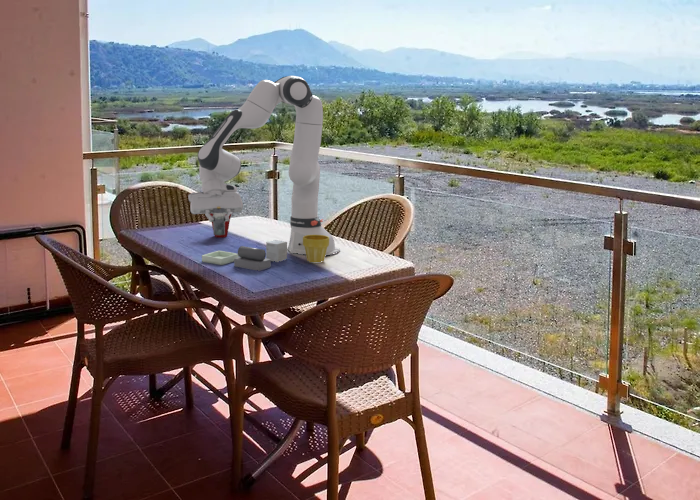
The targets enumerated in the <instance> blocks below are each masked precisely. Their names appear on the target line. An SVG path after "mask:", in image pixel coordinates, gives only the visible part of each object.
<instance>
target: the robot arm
mask: <svg viewBox="0 0 700 500" xmlns="http://www.w3.org/2000/svg"><path fill="white" fill-rule="evenodd" d="M311 90H312V89H311V88H310V85H309V83H308V82H307V81H306V79H305V78H303V77H301V76H297V75H288V76H287V75H286V76H283V77H280V78H279V79H277V80H276V81H274V82H273V81H272V80H268V79H262V80H260V81H259V82H257V84H256V85H255V86H254V88H253V89H252V91H251V92H250V93H249V95H248V97H246V100H245V102H243V104H242V105H241V106H240V107H239V108H238V109H233V110H231V111H230V113H229V114H227V116H226V117H225V118H224V120H223V121H222V122H221V123H220V125H219V126H218V128H216V130H215V132H214V133H213V134H212V135H211V137H209V139H207V140H208V141H205V143H204V144H203V145H202V146H201V147H200V148H199V150H198V152H197V161H198V163H199V165H198V166H199V168H198V170H199V172H198V173H199V177H200V181H201V189H202V190H201V191H202V192H201V191H198V192H196V191H195V192H191V193H189V194H188V195H187V197H188V198H187V199H188V202H189V203H190V213H191V214H192V215H199V214H200V215H202V214H203V215H204V214H205V217H206V218H207V219H208V221H209V223H212V222H214V218H213V216H211V215H210V213H213V208H217V207H218V206H220V207H221V208H224V209H225V213H226V214H227V215H225V221H229V215H230V213H232V214H233V213H241V212H242V211H243V209H244V204H243V200H242V197H241V195H240V193H239V192H238V188H237V186H236V185H232V184H228V183H225V182H228V181H231V180H232V179H234V178H236V177H237V176H238V175H239V174H240V173H241V169H242V162H241V158H240V157H238V156H237V155H235V154H233V153H231V152H230V151H227V150H226V149H224V148H223V146H224V145H225V144H226V142H228V140H229V138H230V136H232V134H233V133H234V132H235V131H236V130H239V129H253V130H254V129H259V128H261V127H264V126H265V124H266V123H267V122H268V121H269V119H270V117H271V116H272V113H273V111H274V110H275V108H276V106H278V105H279V104H280V103H284V104H287V105H291V106H292V105H293V106H294V108H295V114H296V115H295V124H294V125H295V126H294V136H293V144H292V148H291V153H290V154H291V155H290V160H289V166H288V177H289V179H290V180H291V182H292V183H293V184H292V194H291V197H290V198H291V199H290V200H291V201H290V202H291V204H290V205H291V208H290V209H291V210H290V211H291V216H290V221H289V223H290V236H289V243H288V245H287V251H289V253H290V254H293V253H298V254H297V255H303V254H306V252H305V246H303V237H304V236H306V235H325V236H328V237H329V246H328V247H327V250H326V254H325V255H330V254H333V253H336V252H339V251H340V252H341V249H340V248H339V247H336V246H335V245H336V244H335V239H334V236H333V235H332V234H331V233H330V232H328V231H327V230H326V229H325V228H324V227H323V226H322V223H323V222H324V221H323V220H324V219H323V218H322V219H320V217H319V213H318V212H319V189H320V181H321V180H320V179H321V175H320V174H321V166H320V162H319V161H318V159H319V153H320V148H321V143H322V136H323V135H322V134H323V123H324V109H323V102H322V100H321V99H320V98H319V97H318V96H316V95H313V93H312V91H311ZM340 252H339V253H340ZM336 254H337V253H336ZM330 256H331V255H330Z"/></svg>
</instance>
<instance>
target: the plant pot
mask: <svg viewBox="0 0 700 500" xmlns="http://www.w3.org/2000/svg"><path fill="white" fill-rule="evenodd" d="M303 246H305V252H306V255H305V256H306V261H307V262H308V261H309V262H308V263H311V262H321V261H324V262H325V258H326V256H325V254H326V250H327V247H328V246H329V237H328V236H325V235H306V236H304V237H303ZM321 263H322V262H321Z"/></svg>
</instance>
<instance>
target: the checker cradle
mask: <svg viewBox="0 0 700 500" xmlns="http://www.w3.org/2000/svg"><path fill="white" fill-rule="evenodd" d="M237 254H238V258H235V259H234V262H233V263H234V265H233V266H234V267H235V268H240V269H241V268H242V269H248V270H253V271H257V270H258V271H259V272H261V271H263V270H266V269H270V268H271V267H272V265H271V262H272V261H271V259H266V250H265V249H263V248H262V249H261V248H257V247H256V248H255V247H250V246H244V245H241V246H239V247H238V249H237Z"/></svg>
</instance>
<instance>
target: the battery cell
mask: <svg viewBox="0 0 700 500" xmlns="http://www.w3.org/2000/svg"><path fill="white" fill-rule="evenodd" d="M213 218H214V222H213V227H212V231H213V236H214V235H225V209H224V208H221V207H220V206H218V207H217V208H213Z"/></svg>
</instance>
